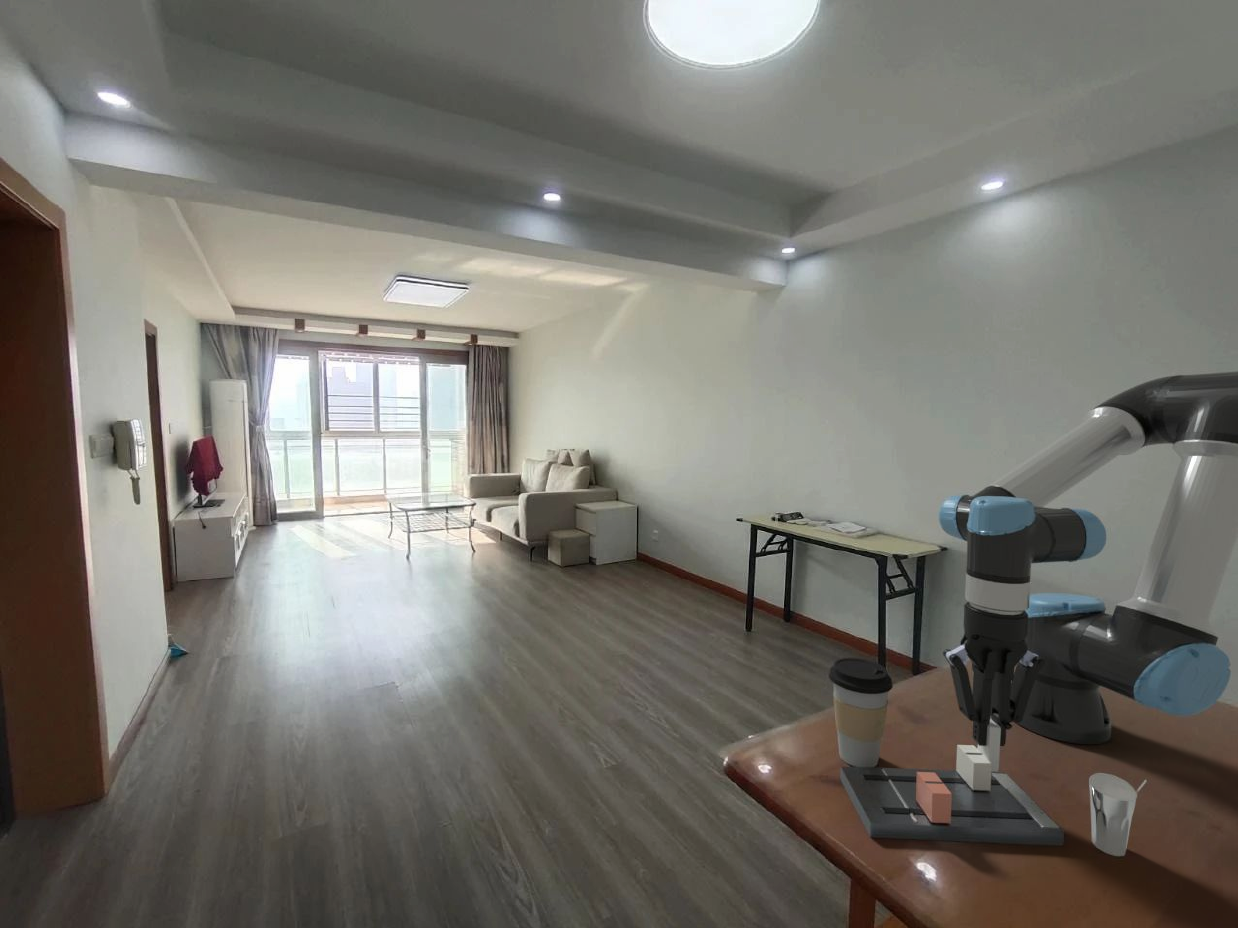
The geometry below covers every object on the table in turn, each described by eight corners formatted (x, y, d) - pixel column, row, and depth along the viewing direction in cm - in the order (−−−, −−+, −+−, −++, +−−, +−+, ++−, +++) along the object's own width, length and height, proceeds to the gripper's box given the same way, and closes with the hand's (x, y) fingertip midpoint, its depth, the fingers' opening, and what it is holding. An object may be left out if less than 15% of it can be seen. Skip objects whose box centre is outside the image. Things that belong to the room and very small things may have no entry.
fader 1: (933, 800, 76) (934, 771, 76) (950, 823, 72) (951, 793, 72) (915, 799, 77) (916, 771, 76) (931, 822, 72) (932, 792, 72)
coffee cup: (897, 779, 84) (900, 683, 83) (832, 771, 86) (834, 678, 85) (881, 743, 94) (884, 657, 93) (822, 737, 96) (824, 653, 94)
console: (1004, 785, 83) (1005, 771, 83) (1063, 845, 71) (1064, 830, 71) (840, 778, 85) (840, 765, 84) (870, 837, 73) (870, 821, 73)
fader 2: (972, 770, 83) (973, 744, 83) (990, 790, 78) (991, 762, 78) (956, 770, 83) (957, 744, 83) (972, 789, 79) (973, 762, 78)
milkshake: (1146, 869, 67) (1151, 790, 66) (1088, 851, 70) (1093, 775, 69) (1136, 845, 71) (1141, 770, 70) (1082, 829, 74) (1086, 757, 73)
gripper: (1026, 598, 82) (1017, 751, 84) (934, 596, 83) (928, 748, 84) (1063, 616, 74) (1053, 784, 76) (962, 613, 75) (954, 780, 77)
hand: (987, 765), depth 80 cm, fingers closed
